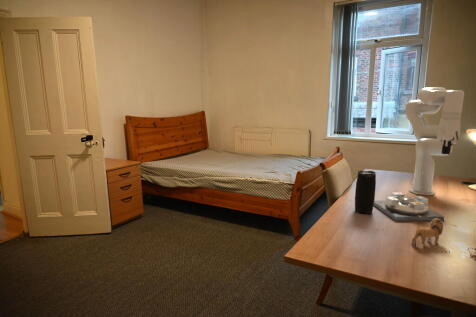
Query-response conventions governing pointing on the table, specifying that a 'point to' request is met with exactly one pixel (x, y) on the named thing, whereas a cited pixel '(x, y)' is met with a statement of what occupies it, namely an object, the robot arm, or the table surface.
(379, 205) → the grey square base plate
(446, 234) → the table surface
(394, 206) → the silver hub plate
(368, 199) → the portable speaker
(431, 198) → the table surface
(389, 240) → the table surface
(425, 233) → the lion figurine
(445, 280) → the table surface
